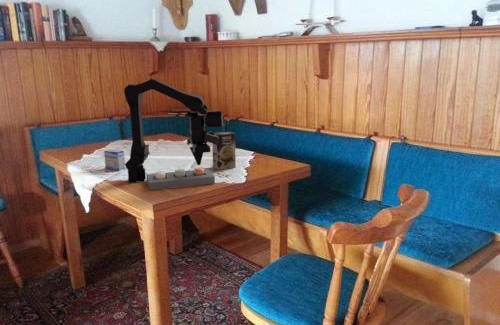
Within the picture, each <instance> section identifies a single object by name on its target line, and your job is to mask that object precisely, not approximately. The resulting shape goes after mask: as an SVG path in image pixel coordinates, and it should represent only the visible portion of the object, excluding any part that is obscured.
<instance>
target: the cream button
mask: <svg viewBox="0 0 500 325" xmlns="http://www.w3.org/2000/svg"><path fill="white" fill-rule="evenodd" d="M165 173H166V172H165V171H161V170H158V171H155V172H154V174H155V180H157V179H165Z"/></svg>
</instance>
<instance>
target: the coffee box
mask: <svg viewBox="0 0 500 325" xmlns="http://www.w3.org/2000/svg"><path fill="white" fill-rule="evenodd" d="M214 135H216V136H218V137H219V140H218V143H217V145H215V144H213V143H212V168H214V169H217V171H218V170H226V169H233V168H234V169H235V168H236V133H235V132H232V131H221V132H214Z"/></svg>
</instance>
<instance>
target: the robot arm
mask: <svg viewBox="0 0 500 325" xmlns="http://www.w3.org/2000/svg"><path fill="white" fill-rule="evenodd" d="M123 90H124V93H123V94H124V97H125V101H126V103H127V105H128V108H129V116H130V117H129V118H130V125H131V128H130V130H131V137H132V138H131V139H132V143H131V149H130V155H129V159H128V160H127V161H125V169H126V170H127V174H128V175H127V180H128V181H127V182H128V184H130V183H131V184H133V183H142V182H146V180H147V176H146V169H145V167H144V163H145V161H146V160H147V159H148V157H149V155H150V153H151V152H150V149H149V148H150V145H149V143H148V144H146V143H145V140H144V132H143V130H144V129H143V118H142V103H143V100H144V99H143V98H144V93H146V92H149V91H151V90H154V91H155V92H158V93H160V94H162V95H165V96H167V97H168V98H169V97H170V98H171V99H173V100H175V101H178V102H180V103H181V104H182V105H183V106H185V107H186V108H187V109H188V111H187V113H186V114H184V117H187V118H188V117H189V126H190V128H189V133H190V137H188V138H186V144H187V145H188V146H190V144H191V146H190V147H189V150H190V151H191V154H192V156H193V158H194V160H195V163H196V165H197V166H201V164H202V159H203V156H204V155H203V154H204V153H205V154H206V153H211V146H210V145H208V143H210V144H212V145H213V144H215V145H217V143H218V140H219V137H218V136H216V135H214V133H215V132H214V131H211V130H210V131H207V130H206V128H205V126H206V127H208V129H209V128H211V129H212V128H219V129H220V128H221V129H222V128H223V127H224V117H223V111H222V110H210V109H209V107H207V105H206V103H205V100H204V98H203V97H202V96H201V95H198V94H194V93H189V92H185V91H183V90H181V89H178V88H177V87H173V86H171V85H169V84H167V83H165V82H162V81H160V80H159V79H157V78H153V77H152V78H150V79H149V80H147V81H144V82H141V83H131V84H128V85H126V86H125V88H124V89H123Z"/></svg>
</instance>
